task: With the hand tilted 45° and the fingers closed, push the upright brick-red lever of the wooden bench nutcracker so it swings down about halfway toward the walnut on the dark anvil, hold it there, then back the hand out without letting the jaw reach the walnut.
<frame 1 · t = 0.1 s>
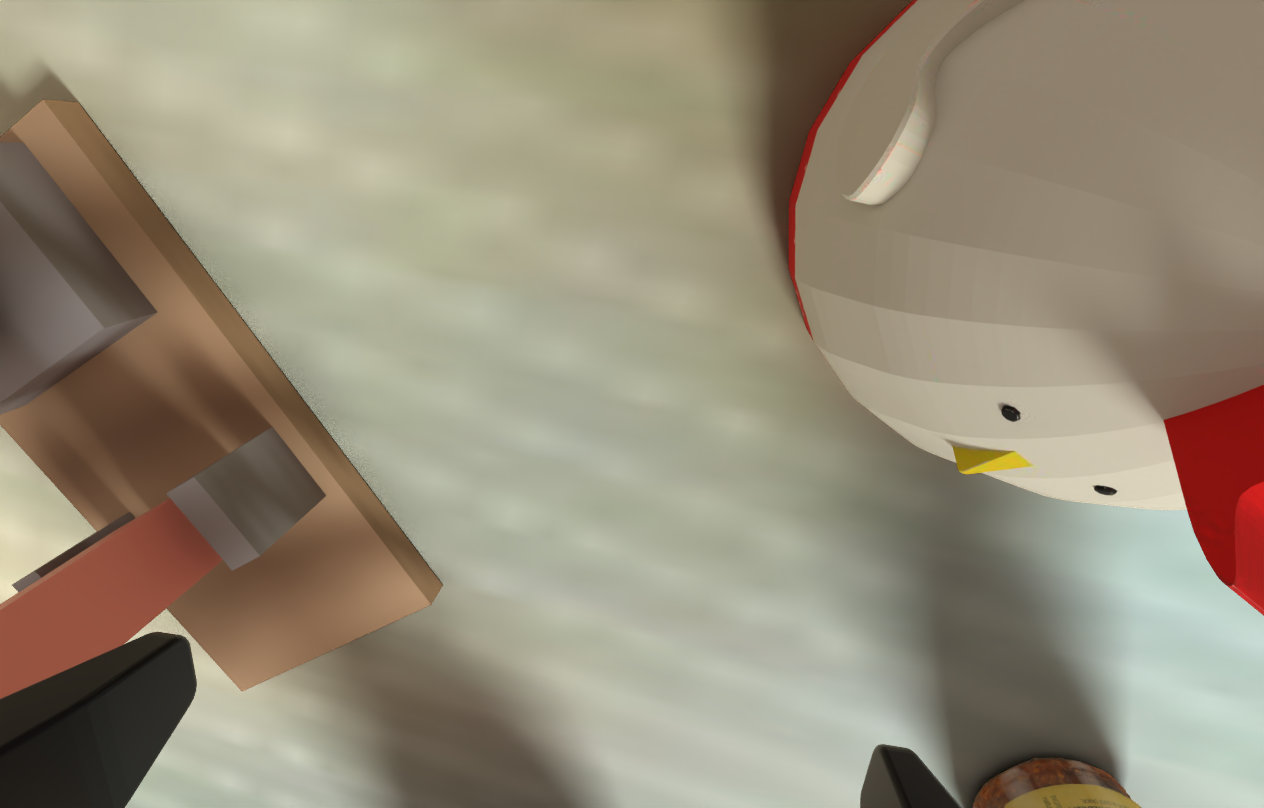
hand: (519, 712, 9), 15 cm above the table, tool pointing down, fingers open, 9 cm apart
lever: (35, 641, 18), point 8 cm above the table, hinge at 0.0°
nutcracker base: (235, 494, 26), on the table
sauce bottle: (1045, 797, 27), on the table
kitchen timer: (1027, 219, 20), on the table
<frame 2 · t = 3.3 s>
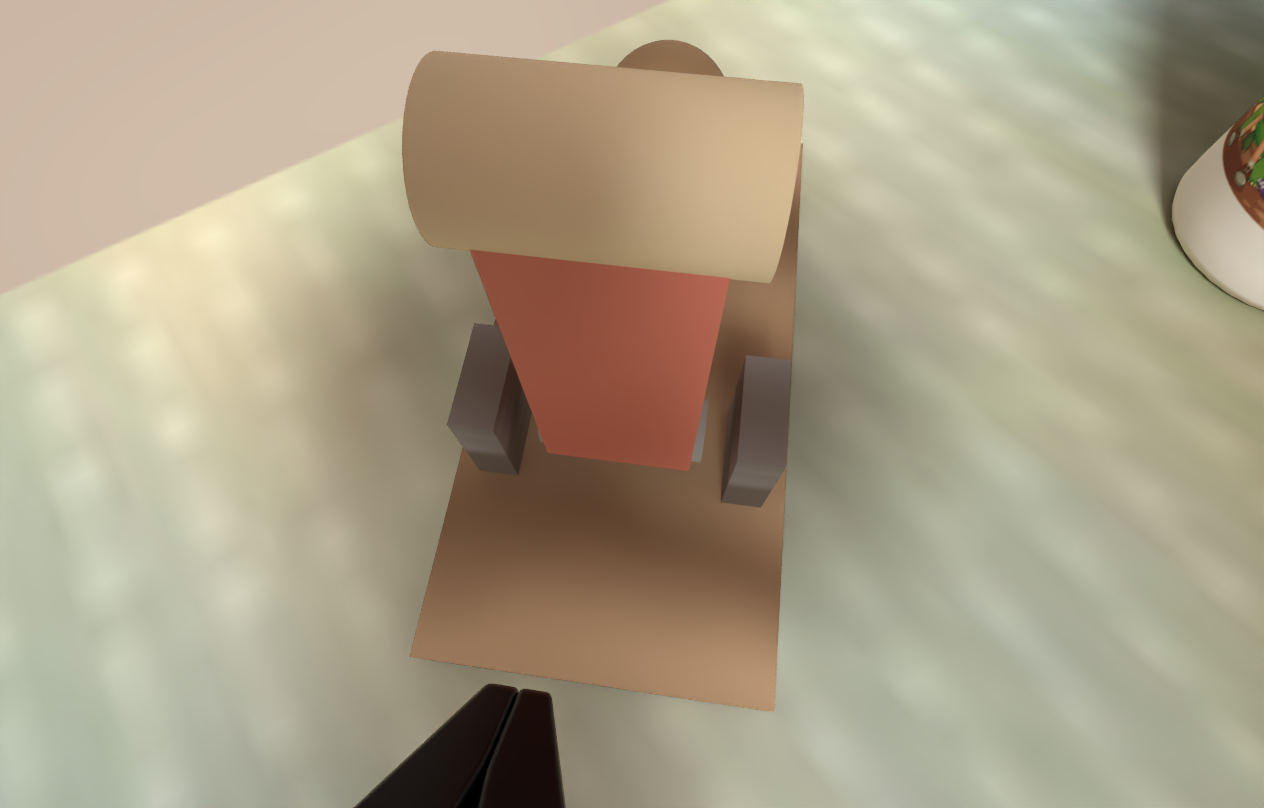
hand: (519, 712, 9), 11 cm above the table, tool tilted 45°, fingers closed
lever: (618, 329, 14), point 8 cm above the table, hinge at 0.0°
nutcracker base: (626, 455, 22), on the table
walnut: (661, 223, 26), resting on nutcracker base
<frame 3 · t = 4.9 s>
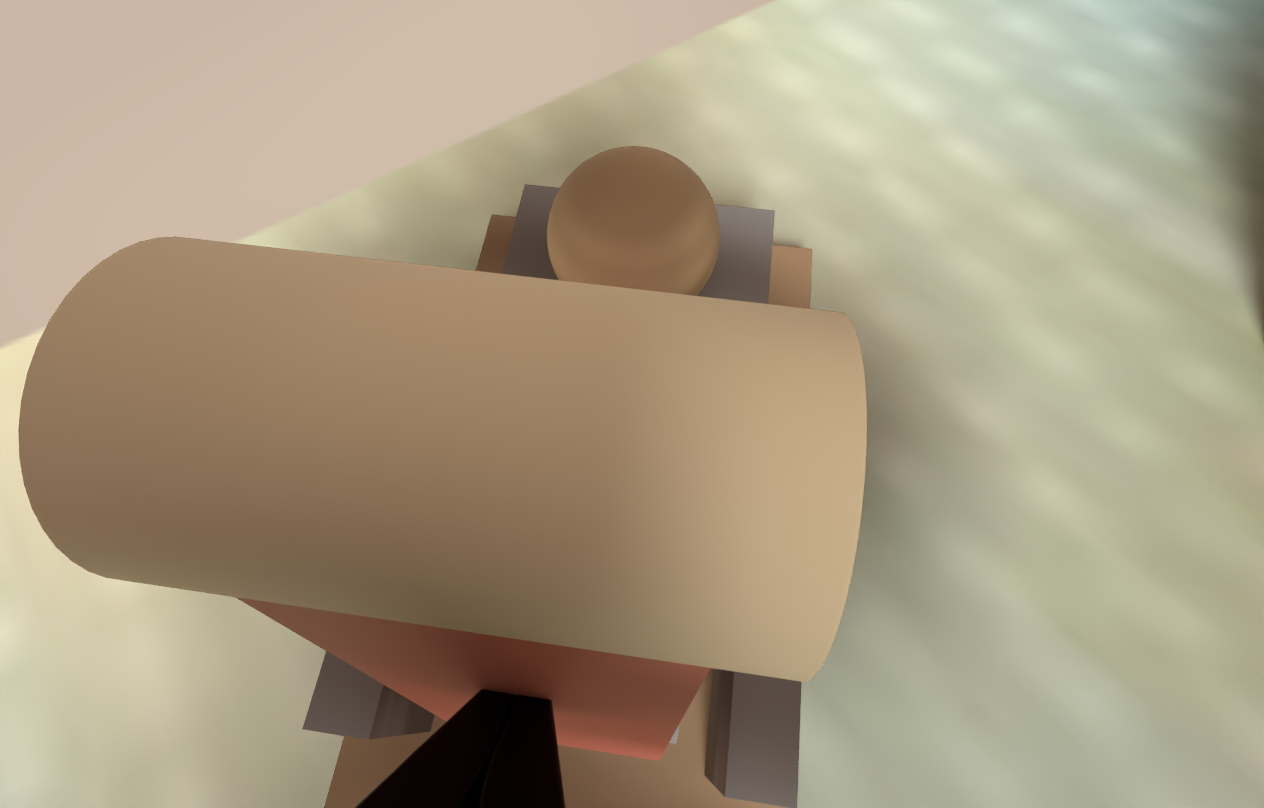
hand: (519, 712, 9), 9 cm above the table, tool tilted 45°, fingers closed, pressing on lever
lever: (545, 608, 9), point 8 cm above the table, hinge at 8.2°, touching gripper
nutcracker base: (581, 682, 17), on the table
walnut: (634, 348, 20), resting on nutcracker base
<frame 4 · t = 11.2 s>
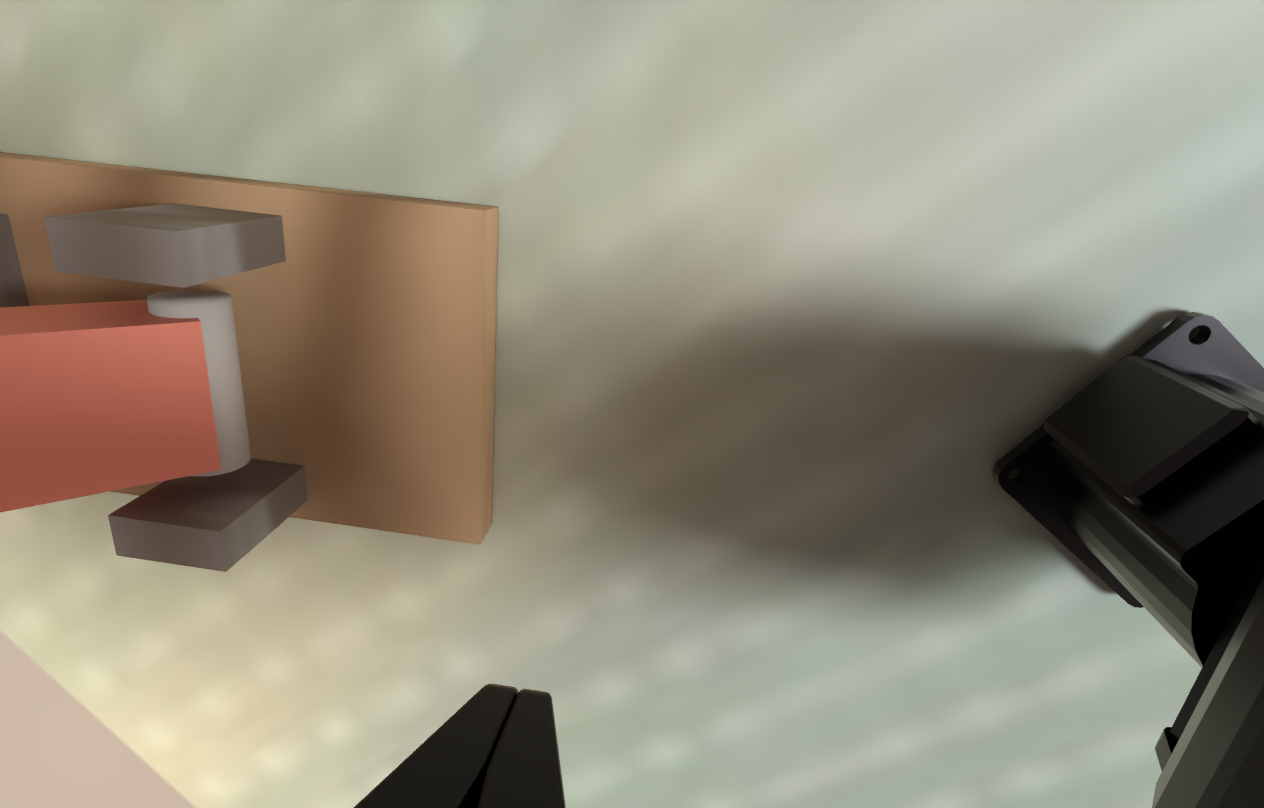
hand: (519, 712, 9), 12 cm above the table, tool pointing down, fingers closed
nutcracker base: (271, 351, 21), on the table
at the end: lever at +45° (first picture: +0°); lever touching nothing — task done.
